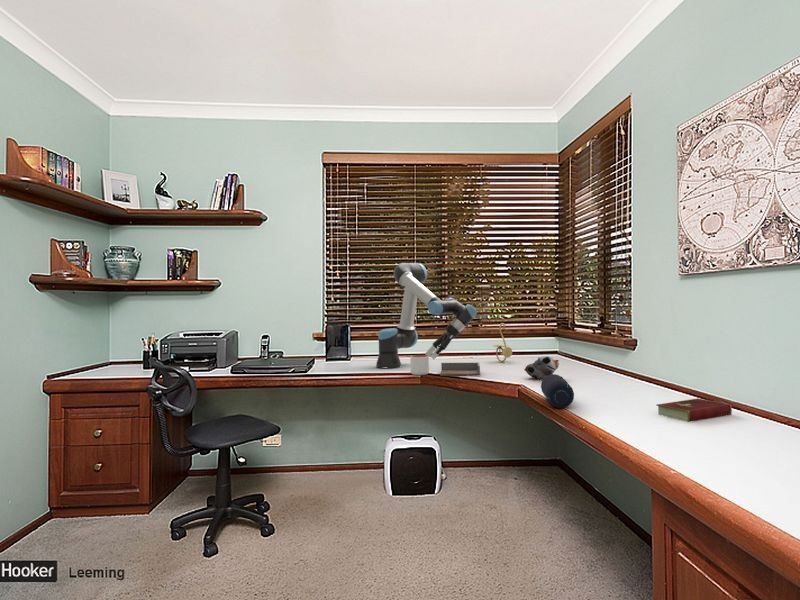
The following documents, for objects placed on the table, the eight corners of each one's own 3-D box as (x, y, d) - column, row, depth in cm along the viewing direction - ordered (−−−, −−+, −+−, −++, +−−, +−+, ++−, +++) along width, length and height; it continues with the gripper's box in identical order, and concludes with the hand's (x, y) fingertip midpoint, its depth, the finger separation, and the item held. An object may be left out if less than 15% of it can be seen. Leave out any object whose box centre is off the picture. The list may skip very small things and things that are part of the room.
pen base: (441, 371, 284) (441, 369, 284) (479, 371, 281) (479, 369, 281) (440, 376, 269) (440, 373, 269) (480, 375, 266) (480, 373, 266)
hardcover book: (731, 416, 170) (731, 403, 170) (688, 423, 162) (688, 410, 162) (698, 409, 181) (698, 397, 181) (656, 415, 173) (656, 403, 173)
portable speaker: (576, 410, 182) (575, 382, 182) (547, 410, 183) (547, 382, 183) (565, 397, 206) (564, 372, 206) (540, 396, 208) (539, 372, 208)
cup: (431, 373, 280) (430, 355, 280) (426, 375, 271) (425, 357, 271) (414, 372, 284) (413, 354, 284) (408, 375, 274) (408, 357, 274)
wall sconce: (514, 362, 316) (513, 323, 316) (501, 363, 313) (500, 323, 313) (502, 360, 329) (501, 322, 329) (490, 361, 326) (489, 322, 326)
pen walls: (441, 369, 284) (441, 362, 284) (479, 369, 281) (479, 362, 281) (440, 373, 269) (440, 366, 269) (480, 373, 266) (479, 366, 266)
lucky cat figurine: (542, 375, 264) (555, 352, 260) (554, 387, 253) (567, 364, 249) (519, 368, 258) (531, 345, 254) (530, 381, 248) (543, 357, 244)
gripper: (466, 334, 268) (439, 363, 265) (453, 331, 292) (429, 358, 290) (456, 324, 267) (429, 354, 264) (444, 322, 291) (419, 349, 289)
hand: (429, 356), depth 277 cm, fingers open, 13 cm apart
